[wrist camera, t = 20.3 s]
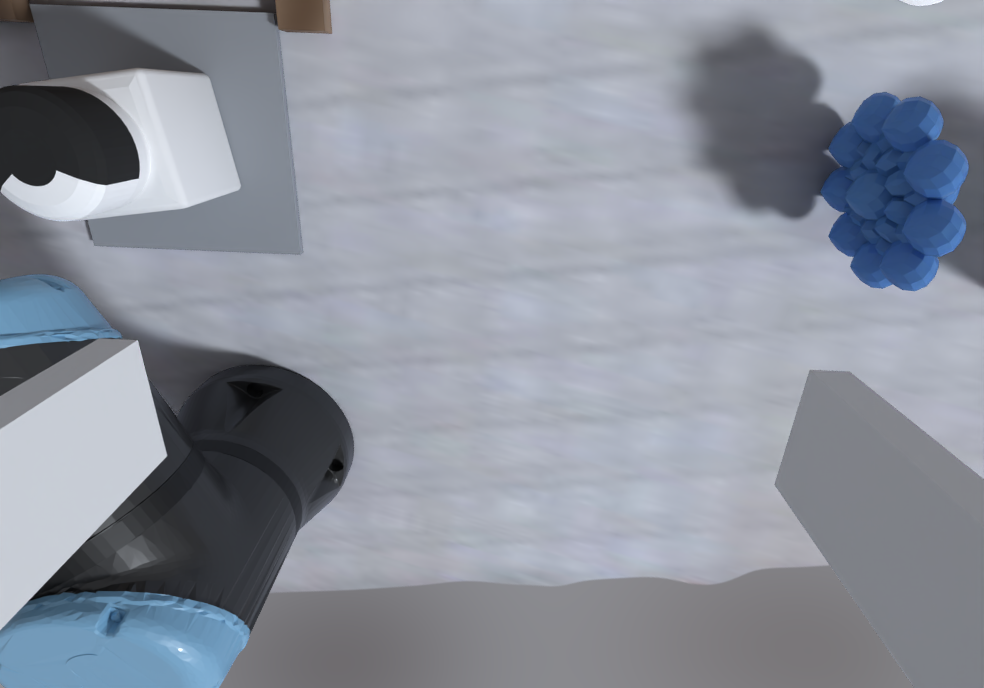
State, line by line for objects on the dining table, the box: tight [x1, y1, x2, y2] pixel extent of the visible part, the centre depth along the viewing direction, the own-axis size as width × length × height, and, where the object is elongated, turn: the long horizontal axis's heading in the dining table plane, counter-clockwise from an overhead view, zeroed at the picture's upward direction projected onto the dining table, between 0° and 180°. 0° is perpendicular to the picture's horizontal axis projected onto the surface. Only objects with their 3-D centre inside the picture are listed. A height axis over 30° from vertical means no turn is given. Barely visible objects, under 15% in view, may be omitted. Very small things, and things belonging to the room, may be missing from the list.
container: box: [0, 68, 241, 221], centre depth 33 cm, size 8×8×13 cm
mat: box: [30, 4, 303, 255], centre depth 39 cm, size 16×16×1 cm
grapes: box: [821, 92, 969, 291], centre depth 34 cm, size 12×7×12 cm, turn 6°
